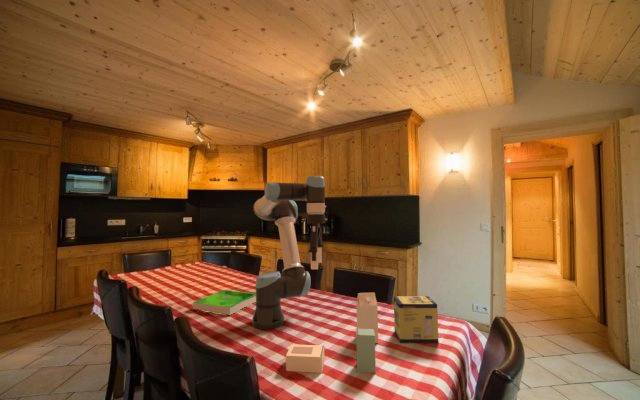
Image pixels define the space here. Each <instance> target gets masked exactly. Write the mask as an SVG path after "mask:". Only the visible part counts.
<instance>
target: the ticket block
mask: <svg viewBox="0 0 640 400" xmlns="http://www.w3.org/2000/svg"><path fill="white" fill-rule="evenodd" d="M324 365H325V345H316V344H315V345H314V344H298V343H297V344H295V343H292V344H290V346H289V347H288V351H287V352H286V355H285V370H286V372H298V373H299V372H301V373H317V374H319V373H320V374H322V373H323V369H324Z"/></svg>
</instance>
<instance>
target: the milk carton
mask: <svg viewBox="0 0 640 400" xmlns="http://www.w3.org/2000/svg"><path fill="white" fill-rule="evenodd" d="M355 303H356V329H357V328H358V329H374V333H375V344H379V323H378V322H379V317H378V316H379V315H378V314H379V313H378V311H379V310H378V302H377V298H376V293H375V292H359V293H357V298H356V302H355Z"/></svg>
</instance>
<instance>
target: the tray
mask: <svg viewBox="0 0 640 400" xmlns="http://www.w3.org/2000/svg"><path fill="white" fill-rule="evenodd" d="M254 302H256V292H255V293H254V292H246V291H236V290H228V289H223V290H220V291H218V292H215V293H212V294H210V295H207V296H206V297H205V296H204V297H203V298H200V299H197V300H195V301H193V302H192V310H193V309H199V310H204V311H210V312H215V313H221V314H228V315H231V314H233V313H235V312H237V311H239V310H240V309H242V308H244V307H246V306H248V305H250V304H252V303H254ZM254 304H255V303H254ZM252 305H253V304H252ZM239 312H240V311H239ZM237 313H238V312H237ZM235 314H236V313H235Z"/></svg>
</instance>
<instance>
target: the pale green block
mask: <svg viewBox="0 0 640 400" xmlns="http://www.w3.org/2000/svg"><path fill="white" fill-rule="evenodd" d="M355 330H356V331H355V334H356V337H355V339H356V372H357V373H369V374H371V373H372V374H376V371H377V369H376V368H377V367H376V366H377V365H376V343H375V333H374V329H358V328H357V327H356V328H355Z"/></svg>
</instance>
